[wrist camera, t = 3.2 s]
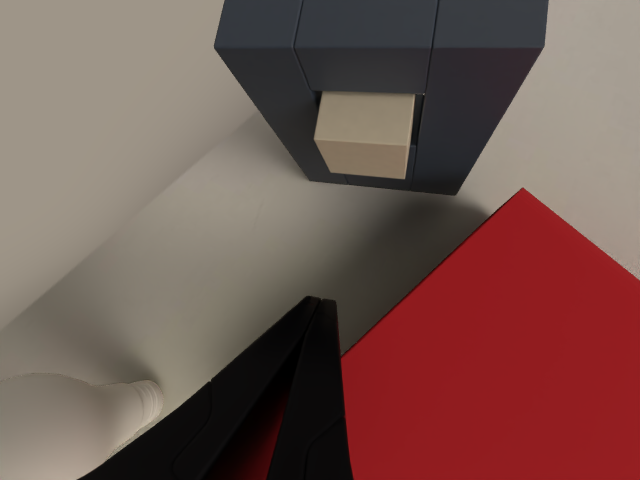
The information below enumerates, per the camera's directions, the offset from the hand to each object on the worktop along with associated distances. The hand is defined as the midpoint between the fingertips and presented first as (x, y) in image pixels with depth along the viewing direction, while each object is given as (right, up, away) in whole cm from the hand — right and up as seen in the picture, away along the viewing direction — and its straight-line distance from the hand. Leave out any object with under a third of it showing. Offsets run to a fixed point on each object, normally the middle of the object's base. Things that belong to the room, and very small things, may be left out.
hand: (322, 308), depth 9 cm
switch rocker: (+2, +6, +5) cm, 8 cm away
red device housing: (+8, -8, +8) cm, 14 cm away
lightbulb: (-11, -8, +12) cm, 18 cm away
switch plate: (+4, +6, +11) cm, 14 cm away
